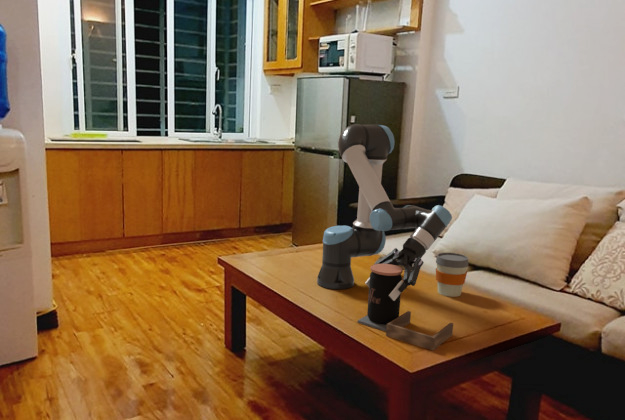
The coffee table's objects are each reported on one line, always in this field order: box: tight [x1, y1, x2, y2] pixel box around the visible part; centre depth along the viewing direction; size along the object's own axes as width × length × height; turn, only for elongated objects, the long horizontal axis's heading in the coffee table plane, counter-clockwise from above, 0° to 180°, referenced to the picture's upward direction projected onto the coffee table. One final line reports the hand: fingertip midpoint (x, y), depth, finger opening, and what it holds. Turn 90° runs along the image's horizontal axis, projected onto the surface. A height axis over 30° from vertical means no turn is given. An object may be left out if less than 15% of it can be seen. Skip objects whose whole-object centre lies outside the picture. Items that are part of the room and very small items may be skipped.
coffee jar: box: [366, 264, 404, 325], centre depth 178 cm, size 11×11×18 cm
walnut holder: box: [385, 310, 454, 351], centre depth 170 cm, size 16×15×4 cm
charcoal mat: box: [356, 315, 387, 332], centre depth 180 cm, size 12×13×1 cm
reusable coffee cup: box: [435, 252, 469, 298], centre depth 211 cm, size 12×13×15 cm
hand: (379, 291), depth 177 cm, fingers open, 13 cm apart
